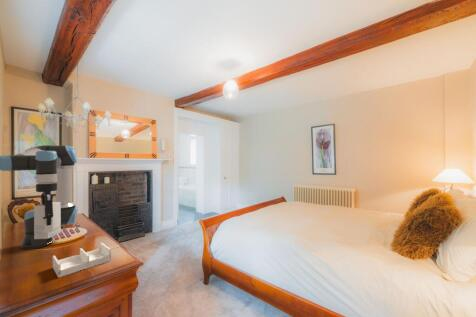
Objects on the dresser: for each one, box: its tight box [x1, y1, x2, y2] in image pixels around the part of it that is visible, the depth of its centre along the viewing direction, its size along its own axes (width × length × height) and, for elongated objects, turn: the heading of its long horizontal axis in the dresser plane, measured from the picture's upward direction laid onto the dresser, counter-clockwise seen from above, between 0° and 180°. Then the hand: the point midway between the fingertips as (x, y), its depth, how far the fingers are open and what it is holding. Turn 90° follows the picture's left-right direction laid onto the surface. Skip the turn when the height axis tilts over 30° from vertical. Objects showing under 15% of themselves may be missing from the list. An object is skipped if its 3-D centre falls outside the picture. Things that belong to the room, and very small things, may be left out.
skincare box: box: [33, 201, 62, 239], centre depth 102 cm, size 8×7×16 cm
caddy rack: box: [52, 242, 112, 278], centre depth 111 cm, size 14×22×6 cm, turn 139°
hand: (47, 229), depth 101 cm, fingers closed on skincare box, 10 cm apart
